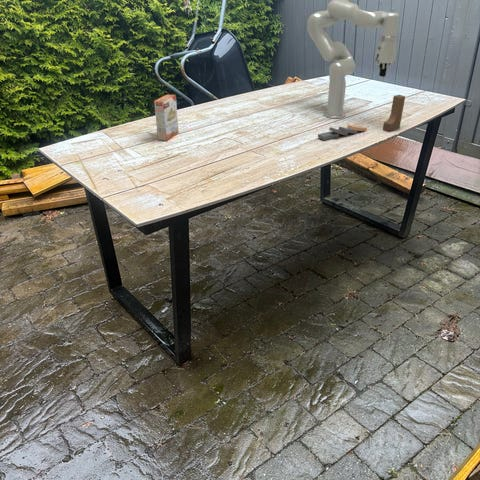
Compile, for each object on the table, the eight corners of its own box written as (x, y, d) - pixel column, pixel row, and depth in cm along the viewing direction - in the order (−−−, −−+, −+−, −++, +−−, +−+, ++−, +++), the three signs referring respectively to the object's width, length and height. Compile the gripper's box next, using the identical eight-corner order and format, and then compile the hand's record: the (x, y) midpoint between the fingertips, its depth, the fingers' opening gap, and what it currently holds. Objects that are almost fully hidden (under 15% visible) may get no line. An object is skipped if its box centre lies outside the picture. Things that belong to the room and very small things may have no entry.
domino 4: (349, 131, 250) (338, 129, 244) (350, 128, 250) (339, 126, 243) (356, 133, 247) (345, 132, 240) (357, 130, 246) (346, 129, 240)
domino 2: (333, 135, 247) (318, 139, 243) (333, 133, 246) (319, 136, 242) (339, 138, 243) (325, 142, 239) (339, 135, 243) (325, 139, 238)
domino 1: (332, 133, 245) (317, 137, 241) (332, 130, 244) (317, 134, 240) (338, 136, 242) (323, 139, 237) (338, 133, 241) (324, 136, 237)
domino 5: (359, 128, 253) (347, 127, 248) (360, 126, 253) (347, 124, 247) (366, 131, 250) (353, 130, 244) (367, 128, 249) (354, 127, 244)
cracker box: (167, 141, 240) (163, 101, 229) (157, 140, 242) (153, 100, 230) (179, 133, 251) (176, 94, 240) (169, 131, 253) (166, 93, 241)
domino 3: (340, 133, 247) (328, 129, 241) (341, 130, 247) (330, 126, 240) (346, 135, 244) (335, 132, 237) (348, 133, 244) (337, 129, 237)
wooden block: (388, 132, 249) (394, 98, 239) (382, 129, 252) (387, 97, 242) (399, 128, 253) (405, 96, 243) (393, 126, 256) (399, 94, 246)
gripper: (381, 41, 229) (375, 79, 239) (404, 39, 234) (397, 76, 244) (371, 39, 235) (366, 76, 244) (394, 37, 240) (388, 73, 250)
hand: (382, 76), depth 244 cm, fingers closed
